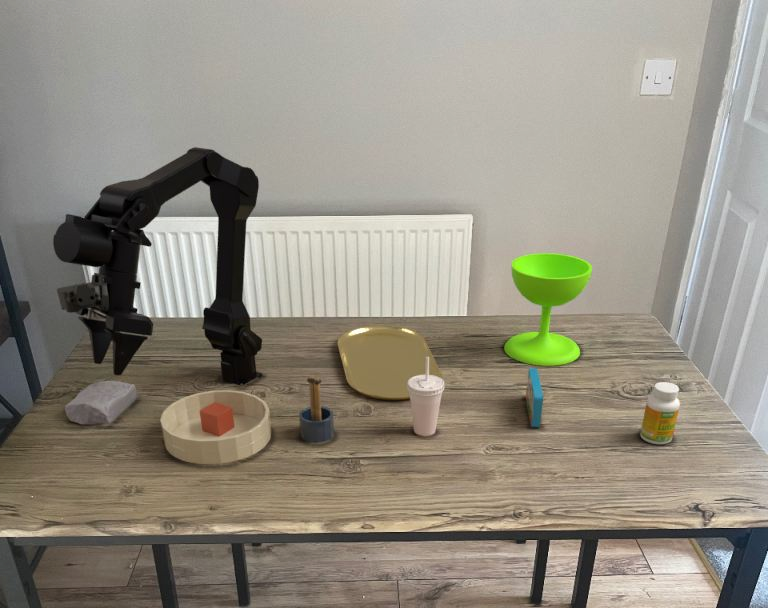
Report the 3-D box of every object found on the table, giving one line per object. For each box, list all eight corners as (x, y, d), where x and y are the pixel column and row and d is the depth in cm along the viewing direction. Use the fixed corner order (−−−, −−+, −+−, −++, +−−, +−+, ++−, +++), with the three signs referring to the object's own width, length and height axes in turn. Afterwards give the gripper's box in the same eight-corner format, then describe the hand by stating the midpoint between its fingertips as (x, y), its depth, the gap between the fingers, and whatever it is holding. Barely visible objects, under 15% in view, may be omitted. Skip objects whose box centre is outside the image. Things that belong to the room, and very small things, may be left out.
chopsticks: (314, 432, 141) (310, 374, 135) (324, 435, 140) (321, 377, 134) (310, 434, 140) (306, 377, 134) (320, 437, 139) (317, 380, 133)
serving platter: (416, 329, 180) (416, 322, 179) (450, 400, 152) (450, 392, 151) (333, 334, 178) (333, 327, 177) (352, 407, 149) (352, 400, 148)
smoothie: (446, 426, 143) (450, 353, 135) (437, 443, 138) (439, 369, 130) (412, 421, 145) (413, 348, 137) (401, 437, 140) (402, 363, 132)
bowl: (215, 405, 150) (212, 381, 147) (292, 431, 142) (290, 406, 139) (143, 447, 138) (137, 422, 135) (222, 478, 130) (218, 451, 127)
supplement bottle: (655, 448, 137) (666, 397, 131) (633, 434, 141) (643, 384, 135) (678, 440, 139) (690, 389, 133) (656, 427, 143) (667, 377, 137)
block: (217, 421, 144) (215, 401, 142) (234, 427, 142) (232, 407, 140) (202, 430, 141) (199, 410, 139) (219, 436, 139) (216, 416, 137)
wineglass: (500, 334, 177) (507, 253, 167) (573, 335, 177) (585, 253, 166) (507, 365, 164) (515, 278, 154) (586, 366, 164) (599, 279, 153)
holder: (313, 425, 144) (312, 403, 141) (340, 434, 141) (340, 411, 139) (293, 439, 140) (292, 416, 137) (321, 448, 137) (319, 425, 135)
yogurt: (525, 397, 152) (528, 367, 149) (533, 397, 152) (537, 367, 149) (531, 428, 143) (534, 397, 139) (539, 428, 143) (543, 397, 139)
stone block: (66, 431, 146) (113, 426, 143) (55, 407, 144) (103, 402, 141) (98, 403, 156) (143, 398, 153) (89, 380, 153) (135, 375, 150)
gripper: (47, 255, 128) (38, 352, 132) (85, 268, 114) (74, 376, 118) (116, 268, 135) (106, 360, 139) (160, 281, 121) (147, 383, 125)
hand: (107, 369), depth 130 cm, fingers open, 9 cm apart
